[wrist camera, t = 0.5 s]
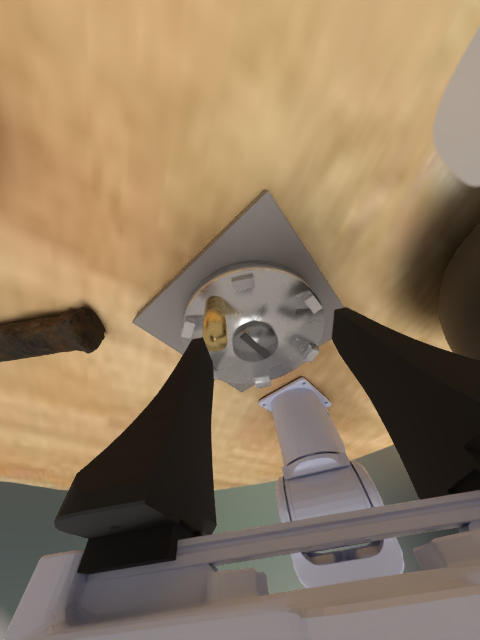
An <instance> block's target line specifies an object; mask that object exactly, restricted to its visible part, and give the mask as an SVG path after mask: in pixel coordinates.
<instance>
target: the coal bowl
mask: <svg viewBox="0 0 480 640" xmlns="http://www.w3.org/2000/svg"><path fill="white" fill-rule="evenodd" d="M438 306H439V318H440V322H441V326H442V330H443V333H444V335H445V338H446V340H447V342H448V344H449V346H450V348H451V350H452V351H453V353H456V354H459V355H462V356H466V357H469V358H472V359H476V360H480V222H479V223H478V224H477V225H476V226H475V227H474V228H473V230H472V231H471V232H470V233H469V234H468V235H467V237H466V238H465V239H464V240H463V242H462V243H461V244H460V246H459V247H458V249H457V250H456V252H455V253H454V255H453V257H452V258H451V260H450V262H449V264H448V266H447V269H446V271H445V274H444V276H443V279H442V283H441V287H440V292H439V302H438Z"/></svg>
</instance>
